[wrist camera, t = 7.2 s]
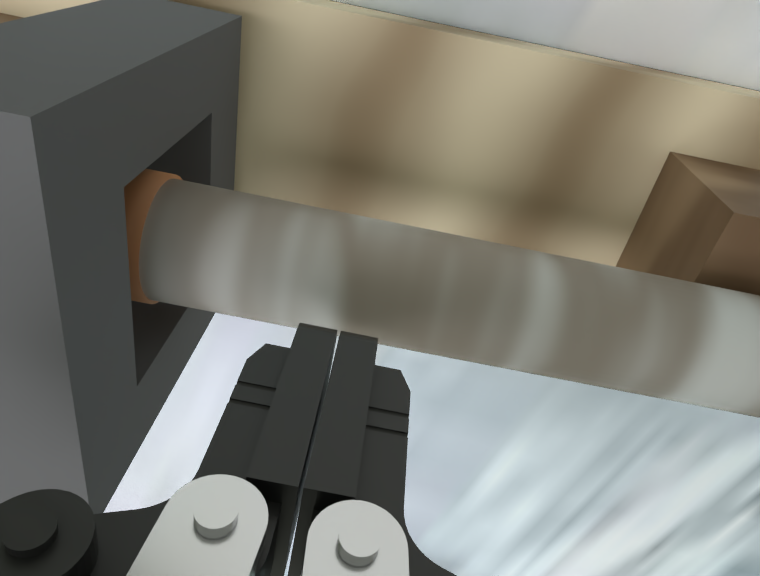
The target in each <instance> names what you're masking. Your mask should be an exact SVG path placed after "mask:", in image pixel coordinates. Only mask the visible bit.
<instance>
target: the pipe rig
mask: <svg viewBox="0 0 760 576" xmlns="http://www.w3.org/2000/svg"><path fill="white" fill-rule="evenodd" d="M96 1H100V0H0V23H4V22H8V21H12V20H17V19H21V18H26V17H30V16H34V15H39V14H43V13H48V12H52V11H56V10H61V9H65V8H70V7H74V6H78V5H83V4H87V3H91V2H96ZM168 1H173V2H178V3H183V4H188V5H192V6H197V7H202V8H207V9H211V10H216V11H221V12H226V13H230V14H235V15H240V16H242V27H241V48H240V70H239V92H238V114H237V136H236V157H235V179H234V190H229V189H224V188H219V187H214V186H209V185H204V184H199V183H194V182H189V181H184V180H182V178H181V177H180V176H178V175H176V174H171V173H166V172H161V171H156V170H151V169H145V170H144V171H142V172H141V173H140V174H139V175H138V176H136V177H135V178H134V179H133V180H132V181H131V182H129V183H128V184H127V185H126V186H125V187H124V199H125V214H126V229H127V244H128V259H129V274H130V289H131V300H132V301H137V302H142V303H147V304H156V303H158V302H164V303H169V304H174V305H179V306H185V307H190V308H195V309H200V310H205V311H211V312H216V313H221V314H226V315H231V316H236V317H242V318H247V319H252V320H257V321H262V322H268V323H273V324H278V325H283V326H288V327H293V328H298V325H299V323H305V324H310V325H315V326H320V327H325V328H330V329H335V330H338V331H337V336H340V332H341V331H346V332H351V333H356V334H361V335H366V336H371V337H376V338H378V344H381V345H387V346H392V347H397V348H402V349H407V350H413V351H418V352H423V353H428V354H433V355H438V356H444V357H449V358H454V359H459V360H464V361H470V362H475V363H480V364H485V365H490V366H495V367H501V368H506V369H511V370H516V371H521V372H527V373H532V374H537V375H542V376H547V377H552V378H558V379H563V380H568V381H573V382H578V383H584V384H589V385H594V386H599V387H604V388H609V389H615V390H620V391H625V392H630V393H635V394H641V395H646V396H651V397H656V398H661V399H666V400H672V401H677V402H682V403H687V404H692V405H698V406H703V407H708V408H713V409H718V410H723V411H729V412H734V413H739V414H744V415H749V416H755V417H760V91H756V90H751V89H746V88H741V87H737V86H732V85H727V84H722V83H718V82H713V81H708V80H704V79H699V78H694V77H689V76H685V75H680V74H675V73H671V72H666V71H661V70H656V69H652V68H647V67H642V66H637V65H633V64H628V63H623V62H619V61H614V60H609V59H604V58H600V57H595V56H590V55H585V54H581V53H576V52H571V51H567V50H562V49H557V48H552V47H548V46H543V45H538V44H533V43H529V42H524V41H519V40H515V39H510V38H505V37H500V36H496V35H491V34H486V33H481V32H477V31H472V30H467V29H463V28H458V27H453V26H448V25H444V24H439V23H434V22H430V21H425V20H420V19H415V18H411V17H406V16H401V15H396V14H392V13H387V12H382V11H378V10H373V9H368V8H363V7H359V6H354V5H349V4H344V3H340V2H335V1H330V0H168Z"/></svg>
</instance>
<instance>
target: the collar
mask: <svg viewBox="0 0 760 576" xmlns="http://www.w3.org/2000/svg"><path fill="white" fill-rule="evenodd" d="M241 27H242V16H240V15H235V14H230V13H226V12H221V11H216V10H211V9H207V8H202V7H197V6H192V5H188V4H183V3H178V2H173V1H168V0H100V1H96V2H91V3H87V4H83V5H78V6H74V7H70V8H65V9H61V10H56V11H52V12H48V13H43V14H39V15H34V16H30V17H26V18H21V19H17V20H12V21H8V22H4V23H0V503H3V502H5V501H7V500H9V499H11V498H13V497H15V496H18V495H20V494H24V493H27V492H30V491H35V490H41V489H59V490H65V491H69V492H72V493H74V494H76V495H78V496H80V497H81V498H83V499H84V500H85V501H86V502H87V503H88V504H89V506H90V508H91V509H92V511H93V514H99V513H103V512H104V510H105V508H106V507H107V505H108V503H109V501H110V499H111V498H112V496H113V494H114V492H115V491H116V489H117V487H118V485H119V483H120V482H121V480H122V478H123V476H124V475H125V473H126V471H127V469H128V467H129V466H130V464H131V462H132V460H133V458H134V457H135V455H136V453H137V451H138V450H139V448H140V446H141V444H142V442H143V441H144V439H145V437H146V435H147V434H148V432H149V430H150V428H151V426H152V425H153V423H154V421H155V419H156V417H157V416H158V414H159V412H160V410H161V409H162V407H163V405H164V403H165V401H166V400H167V398H168V396H169V394H170V393H171V391H172V389H173V387H174V385H175V384H176V382H177V380H178V378H179V376H180V375H181V373H182V371H183V369H184V368H185V366H186V364H187V362H188V360H189V359H190V357H191V355H192V353H193V352H194V350H195V348H196V346H197V344H198V343H199V341H200V339H201V337H202V335H203V334H204V332H205V330H206V328H207V327H208V325H209V323H210V321H211V319H212V318H213V316H214V314H215V312H211V311H205V310H200V309H195V308H190V307H185V306H179V305H174V304H169V303H164V302H158V303H156V304H147V303H142V302H137V301H132V300H131V289H130V274H129V259H128V244H127V229H126V214H125V199H124V187H125V186H126V185H127V184H128V183H129V182H131V181H132V180H133V179H134V178H135V177H136V176H138V175H139V174H140V173H141V172H142V171H144V170H145V169H151V170H156V171H161V172H166V173H171V174H176V175H178V176H180V177H181V178H182V180H184V181H189V182H194V183H199V184H204V185H209V186H214V187H219V188H224V189H229V190H234V179H235V157H236V136H237V114H238V92H239V70H240V48H241Z"/></svg>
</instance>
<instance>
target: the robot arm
mask: <svg viewBox="0 0 760 576" xmlns="http://www.w3.org/2000/svg"><path fill="white" fill-rule="evenodd" d="M337 331H338V330H335V329H330V328H325V327H320V326H315V325H310V324H305V323H299V325H298V328H297V331H296V334H295V337H294V339H293V342H292V345H291V348H286V347H281V346H276V345H271V344H265V345H264V346H262V347H261V348H260V349H259V350H258V351H256V352H255V353H254V354H253V355H252V356H250V357H249V358H248V359H247V360H246V363H245V365H244V367H243V369H242V372H241V374H240V376H239V379H238V382H237V385H235V388H234V390H233V392H232V395H231V397H230V401H229V403H228V404H227V406H226V408H225V411H224V413H223V415H222V417H221V420H220V422H219V424H218V426H217V429H216V431H215V433H214V436H213V438H212V440H211V442H210V445H209V447H208V449H207V452H206V454H205V456H204V458H203V461H202V463H201V465H200V468H199V470H198V472H197V473H196V475H195V477H194V478H193V479H192V481H191V482H189V483H187V484H186V485H184V486H183V487H181V488H180V489H179V490H177V492H176V493H175V494H174V495H173V496H172V497H171V498H170V499H168V500H167V501H164V502H162V503H160V504H157V505H154V506H151V507H147V508H142V509H136V510H127V511H118V512H109V513H99V514H93V511H92V509H91V508H90V506H89V504H88V503H87V502H86V501H85V500H84V499H83V498H81V497H80V496H78V495H76V494H74V493H72V492H69V491H65V490H59V489H41V490H35V491H30V492H27V493H24V494H20V495H18V496H15V497H13V498H11V499H9V500H7V501H5V502H3V503H0V576H284V573H285V568H286V564H287V560H288V556H289V552H290V547H291V543H292V539H293V535H294V530H295V526H296V522H297V527H296V532H295V538H294V544H293V549H292V555H291V561H290V566H289V572H288V576H456V575H454V574H453V573H451V572H449V571H447V570H445V569H443V568H441V567H440V566H438V565H437V564H435V563H433V562H432V561H431V560H430V559H429V558H427V557H426V556H425V555H424V554H423V553H422V552H421V551H420V550H419V549H418V547H417V546H416V545H415V543H414V542H413V540H412V538H411V537H410V535H409V533H408V530H407V527H406V525H405V519H404V494H405V477H406V459H407V442H408V438H407V435H408V425H409V419H408V417H409V408H410V390H409V388H408V385H407V383H406V381H405V379H404V377H403V375H402V372H401V370H397V369H392V368H387V367H382V366H377V365H375V358H376V351H377V344H378V338H376V337H371V336H366V335H361V334H356V333H351V332H346V331H341V332H340V336H339V340H338V344H337V348H336V353H335V357H334V361H333V365H332V359H333V354H334V348H335V343H336V337H337ZM331 365H332V369H331ZM330 370H331V374H330ZM329 376H330V378H329ZM328 381H329V382H328ZM298 513H299V515H298ZM297 518H298V521H297Z"/></svg>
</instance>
